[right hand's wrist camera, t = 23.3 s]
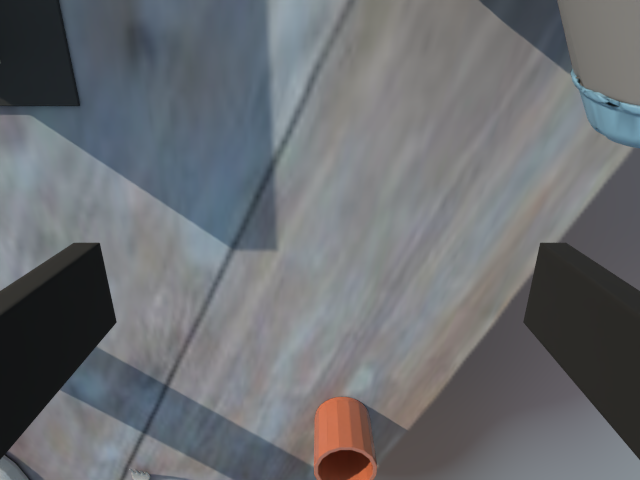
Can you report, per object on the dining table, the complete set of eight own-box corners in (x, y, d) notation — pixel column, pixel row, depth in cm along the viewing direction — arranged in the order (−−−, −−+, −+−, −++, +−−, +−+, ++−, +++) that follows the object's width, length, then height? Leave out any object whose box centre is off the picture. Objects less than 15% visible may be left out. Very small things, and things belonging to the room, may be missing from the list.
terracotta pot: (370, 396, 54) (378, 447, 47) (367, 438, 57) (375, 492, 49) (314, 396, 54) (313, 447, 47) (314, 438, 57) (314, 492, 49)
